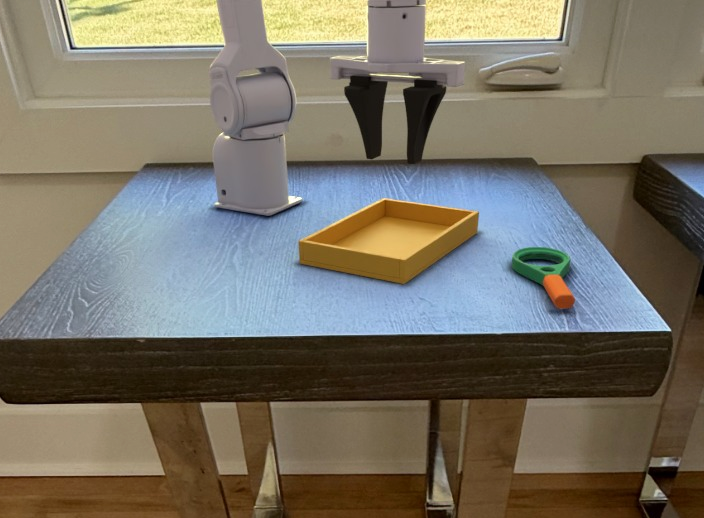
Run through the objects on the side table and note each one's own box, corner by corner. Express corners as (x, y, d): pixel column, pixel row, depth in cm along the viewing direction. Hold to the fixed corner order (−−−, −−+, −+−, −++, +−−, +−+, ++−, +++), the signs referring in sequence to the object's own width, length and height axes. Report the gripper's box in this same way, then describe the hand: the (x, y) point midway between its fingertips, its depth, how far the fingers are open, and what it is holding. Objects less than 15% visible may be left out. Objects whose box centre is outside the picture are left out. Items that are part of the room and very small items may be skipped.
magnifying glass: (507, 258, 79) (508, 242, 78) (561, 257, 79) (564, 241, 78) (531, 312, 67) (533, 295, 66) (595, 312, 67) (598, 294, 66)
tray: (299, 263, 79) (298, 240, 77) (383, 218, 91) (383, 197, 90) (404, 284, 73) (404, 260, 72) (477, 232, 86) (479, 211, 84)
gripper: (310, 7, 68) (317, 160, 77) (447, 9, 62) (438, 175, 71) (348, 3, 73) (351, 147, 81) (478, 4, 67) (466, 160, 75)
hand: (393, 159), depth 76 cm, fingers open, 4 cm apart
